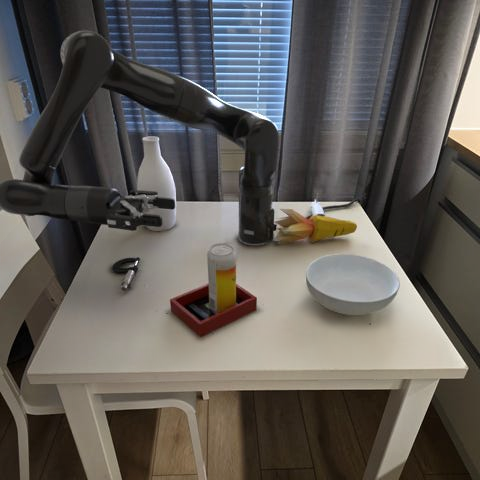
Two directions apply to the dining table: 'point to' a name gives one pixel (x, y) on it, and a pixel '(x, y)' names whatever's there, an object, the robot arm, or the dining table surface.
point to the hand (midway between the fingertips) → (168, 212)
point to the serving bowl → (351, 283)
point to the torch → (310, 227)
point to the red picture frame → (204, 319)
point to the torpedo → (317, 208)
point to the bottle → (157, 181)
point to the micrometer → (126, 271)
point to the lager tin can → (221, 276)
